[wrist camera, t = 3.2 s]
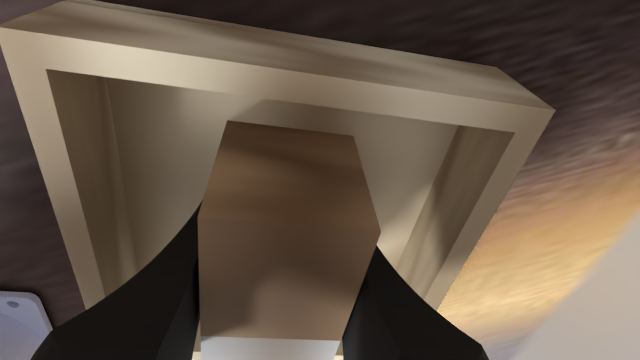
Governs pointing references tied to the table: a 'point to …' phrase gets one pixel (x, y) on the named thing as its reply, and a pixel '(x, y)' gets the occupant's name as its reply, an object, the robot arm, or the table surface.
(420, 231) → the birch crate
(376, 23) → the table surface
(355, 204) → the walnut block
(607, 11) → the table surface
